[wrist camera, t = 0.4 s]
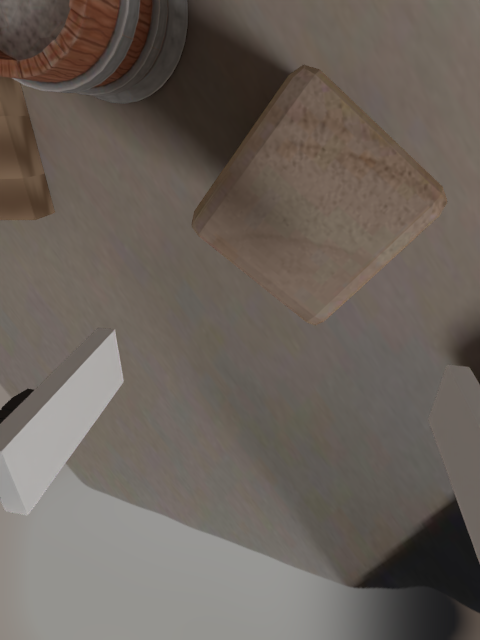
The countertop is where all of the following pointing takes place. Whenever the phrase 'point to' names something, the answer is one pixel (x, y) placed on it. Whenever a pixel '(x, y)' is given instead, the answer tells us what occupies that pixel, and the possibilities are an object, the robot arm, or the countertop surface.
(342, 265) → the wooden block
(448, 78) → the countertop surface
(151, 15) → the mug
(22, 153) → the board
